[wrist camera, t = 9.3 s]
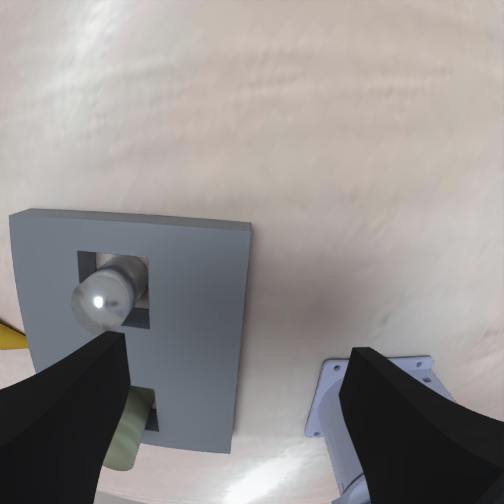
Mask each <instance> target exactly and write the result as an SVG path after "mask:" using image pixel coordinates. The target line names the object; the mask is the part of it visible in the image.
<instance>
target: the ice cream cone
mask: <svg viewBox="0 0 504 504" xmlns="http://www.w3.org/2000/svg"><path fill="white" fill-rule="evenodd" d="M24 348H29V346H28V342H27V338H26V336H24V335H22V334H20V333H18V332H16V331H14V330H12V329H10V328H8V327H6V326H4V325H3V324H1V323H0V350H7V349H24Z"/></svg>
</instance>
